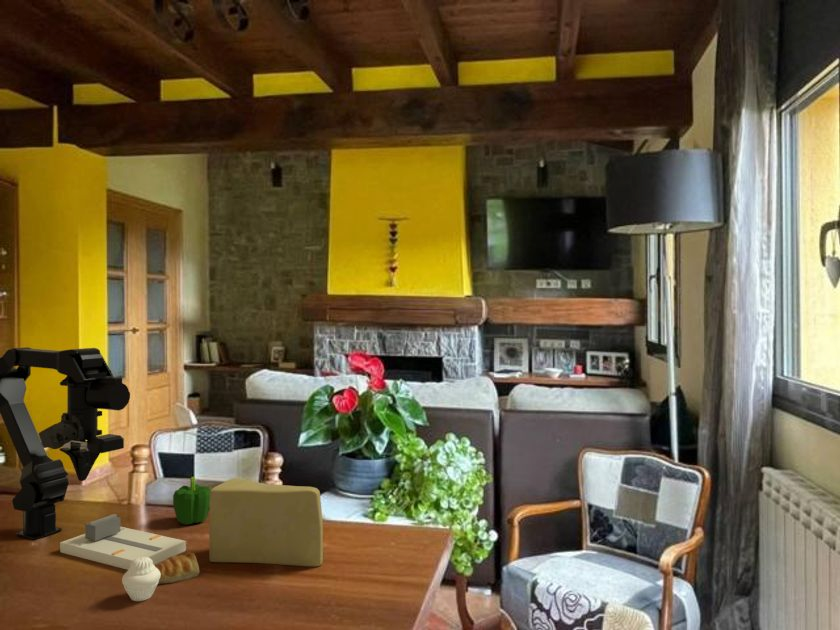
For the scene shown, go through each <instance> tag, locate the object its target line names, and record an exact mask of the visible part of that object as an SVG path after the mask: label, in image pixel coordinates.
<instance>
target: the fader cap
mask: <svg viewBox="0 0 840 630" xmlns="http://www.w3.org/2000/svg"><path fill="white" fill-rule="evenodd" d="M121 522H122V521H121V517H119V516H117V514H116V513H113V514H109V515H108V516H104V517H102V518H98V519H96V520H93V521H89V522H87V523H85V525H84V527H85V529H84V534H85V539H89V540H94V541H96V540H99V539H102V538H105V537H107V536H110V535H113V534H115V533H118V532H120V527H121Z"/></svg>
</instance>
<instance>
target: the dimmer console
mask: <svg viewBox="0 0 840 630" xmlns="http://www.w3.org/2000/svg"><path fill="white" fill-rule="evenodd" d="M59 548H60V549H59V550H60V553H62V554H66V555H69V556H74V557H76V558H81V559H86V560H89V561H93V562H96V563H99V564H104V565H107V566H112V567H115V568H119V569H124V570H127V571H128V570H129V568H130V565H131V562H132V561H133V560H135V559H137V558H140V557H148V558H150V559H151V560H152V561H153V564H154V565H155V564H157V563H161V562H162V561H164V560H166V559H167V558H169V557H171V556H177V555H181V554H182V553H184V552H186V550H187V541H186V540H183V539H179V538H174V537H171V536H165V535H162V534H156V533H152V532H147V531H143V530H138V529H133V528H128V527H124V526H120V532H118V533H115V534H113V535H110V536H107V537H105V538H102V539H99V540H96V541H94V540H89V539H85V533H84V534H83V533H82V534H80V535H78V536H74V537H72V538H69V539H66V540H64V541H61V542H60V543H59Z"/></svg>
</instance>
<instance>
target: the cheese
mask: <svg viewBox="0 0 840 630" xmlns="http://www.w3.org/2000/svg"><path fill="white" fill-rule="evenodd" d="M210 490H211V491H210V507H209V543H208V544H209V548H208V550H209V551H208V553H209V556H208V557H209V561H210V562H211V563H239V564H241V563H242V564H244V563H245V564H246V563H247V564H267V565H269V564H271V565H279V566H293V567H309V568H310V567H311V568H312V567H320V566H321V565H322V564H323V559H324V558H323V557H324V556H323V555H324V554H323V552H324V545H323V544H324V540H323V539H324V538H323V537H324V529H323V528H324V527H323V526H324V524H323V523H324V521H323V511H322V510H323V509H322V501H321V499H322V498H321V492H320V490H319V489H318V488H317V487H314V486H303V485H302V486H300V485H299V486H297V485H284V484H281V485H280V484H269V483H264V482H263V483H262V482H258V481H253V480H248V479H243V478H239V477H238V478H237V477H234V478H231V479H228V480H225V482H222V483H219V484H218V485H216V486H214V487H212V488H210Z"/></svg>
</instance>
